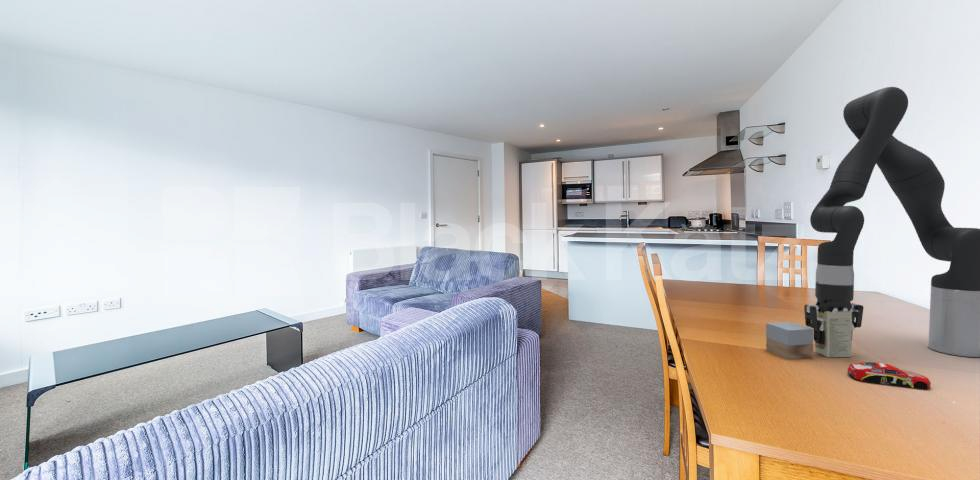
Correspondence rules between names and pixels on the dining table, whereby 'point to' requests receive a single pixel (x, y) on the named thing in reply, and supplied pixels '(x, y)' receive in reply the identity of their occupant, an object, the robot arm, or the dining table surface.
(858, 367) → the race car
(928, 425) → the dining table surface
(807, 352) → the bottom block
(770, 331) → the top block
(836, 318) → the skincare box
